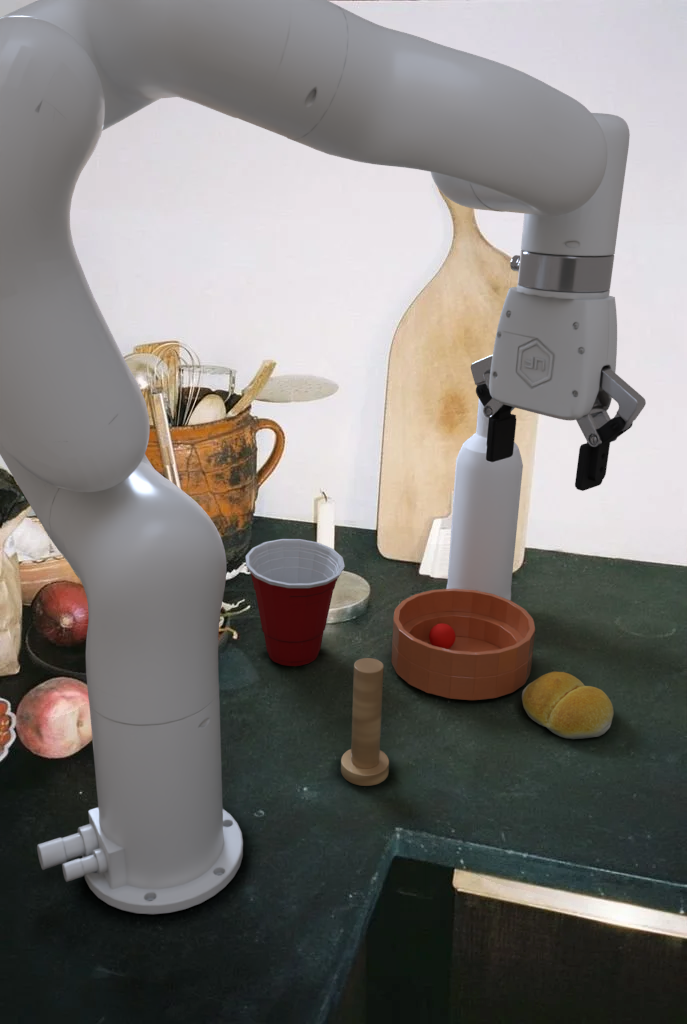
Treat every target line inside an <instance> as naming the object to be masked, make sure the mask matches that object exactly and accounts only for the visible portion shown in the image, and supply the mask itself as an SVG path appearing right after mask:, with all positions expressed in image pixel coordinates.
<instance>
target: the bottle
mask: <svg viewBox="0 0 687 1024" xmlns="http://www.w3.org/2000/svg"><path fill="white" fill-rule="evenodd" d="M483 409H484V406H483V404H482V403H481V401H480V399H479V398H478V402H477V413H476V414H477V415H476V426H475V427H476V428H475V433H473V434H472V435H470V437H468V438H467V439H466V440H465V441H464V442H463V443H462V445H461V447H460V449H459V451H458V454H457V456H456V459H455V471H454V483H453V496H452V497H453V498H452V500H453V502H452V513H451V514H452V515H451V526H450V527H451V528H450V540H449V543H450V544H449V556H448V569H447V583H446V587H445V589H467V590H477V591H481V592H486V593H491V594H495V595H497V596H500V597H503V598H505V599H508V600H511V601H512V581H513V574H514V573H513V571H514V562H515V551H516V541H517V530H518V520H519V509H520V501H521V500H520V499H521V491H522V490H521V489H522V480H523V469H524V463H523V459H522V455H521V452H520V447H519V446H518V445H517V443H516V442H515V441H514V449H513V455H512V456H511V457H509V458H505V459H502V460H498V461H495V462H490V461H487V460H486V452H487V434H488V423H489V418H487V417H486V416H485V415H484V413H483Z"/></svg>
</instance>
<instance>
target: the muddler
mask: <svg viewBox="0 0 687 1024" xmlns="http://www.w3.org/2000/svg"><path fill="white" fill-rule="evenodd" d="M352 685H353V686H352V710H351V711H352V714H351V746H350V749H348V750H346V751H345V752H343V754H342V756H341V758H340V773H341V775H342V777H343V779H345V780H346V781H347V782H348V783H351V784H352V785H356V786H359V787H360V786H361V787H372V786H376V785H379V784H381V783H383V782H384V781H385V780H386V779H388V777H389V774H390V773H389V772H390V759H389V757H388V755H387V754H386V753H385V752H384V751H383V750H381V735H382V734H381V731H382V709H383V687H384V663H383V662H382V661H380V660H379V659H377V658H374V657H373V658H372V657H364V658H363V657H362V658H360V659H357V660H356V661H355V662H354V663H353V684H352Z"/></svg>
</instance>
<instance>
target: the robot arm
mask: <svg viewBox="0 0 687 1024" xmlns="http://www.w3.org/2000/svg"><path fill="white" fill-rule="evenodd" d="M170 98H180V99H183V100H186V101H189V102H193V103H195V104H198V105H201V106H203V107H206V108H207V109H208V108H209V109H211V110H213V111H215V112H218V113H222V114H224V115H226V116H229V117H231V118H235V119H239V120H241V121H243V122H246V123H249V124H252V125H254V126H256V127H259V128H261V129H263V130H266V131H269V132H271V133H274V134H276V135H279V136H282V137H284V138H287V139H288V140H291V141H293V142H296V143H299V144H301V145H304V146H306V147H308V148H311V149H313V150H316V151H319V152H321V153H324V154H326V155H329V156H334V157H338V158H342V159H347V160H350V161H353V162H358V163H364V164H371V165H377V166H387V167H396V168H404V169H413V170H419V171H425V172H430V176H431V178H432V180H433V182H434V184H435V186H436V188H437V189H438V190H439V191H440V192H441V194H443V195H444V196H445V197H446V198H447V199H449V200H450V201H451V202H453V203H455V204H457V205H460V206H462V207H465V208H469V209H474V210H480V211H491V212H498V213H499V212H501V213H505V212H507V213H516V214H523V225H522V234H521V245H520V251H519V252H520V253H519V255H517V254H516V255H513V256H512V258H511V259H510V263H509V264H510V265H509V266H510V269H511V271H513V272H517V284H516V286H514V287H513V286H512V287H509V288H508V290H507V294H506V296H505V298H504V301H503V306H502V309H501V312H500V316H499V320H498V325H497V329H496V334H495V337H494V338H495V339H494V344H493V350H492V354H490V355H488V356H486V357H484V358H481V359H479V360H476V361H474V362H472V363H471V364H470V371H471V374H472V375H471V376H472V379H473V381H474V385H475V386H476V388H475V394H476V395H477V398H478V400H479V399H480V401H481V403H482V404H483V406H484V409H483V413H484V415H485V416H486V417H487V418H489V423H488V434H487V452H486V460H487V461H490V462H495V461H498V460H502V459H505V458H509V457H511V456H512V455H513V449H514V442H515V439H516V438H515V437H516V428H517V415H516V414H513V413H512V412H513V411H514V409H519V410H523V411H527V412H530V413H534V414H538V415H541V416H546V417H550V418H553V419H558V420H563V421H576V422H577V425H578V427H579V428H580V430H581V432H582V434H583V436H584V439H585V440H586V443H583V444H581V445H580V446H579V450H578V458H577V466H576V475H575V480H574V487H575V488H576V490H578V491H581V492H585V491H587V490H590V489H592V488H596V487H599V486H601V484H603V480H604V479H605V477H606V474H607V468H608V461H609V454H610V446H611V443H612V442H615V441H617V439H618V438H619V437H620V436H621V435H623V434H624V433H625V432H627V431H628V430H630V429H631V428H632V427H633V423H634V422H635V421H636V419H637V417H638V416H639V415H640V413H641V412H642V411H643V410H644V408H645V407H646V404H647V403H646V399H645V398H644V396H642V395H641V394H640V393H639V392H638V391H636V390H635V388H633V387H632V386H631V385H630V384H628V383H627V382H626V381H625V380H624V379H623V378H622V377H621V376H619V375H618V374H617V373H616V372H617V371H616V370H617V357H618V355H617V354H618V317H617V316H618V315H617V305H616V297H615V296H612V295H610V293H611V292H610V291H611V284H612V276H613V268H614V262H615V261H614V260H615V254H616V247H617V246H616V245H617V237H618V230H619V222H620V214H621V208H622V207H621V205H622V200H623V199H622V198H623V193H624V184H625V176H626V169H627V162H628V154H629V147H630V137H631V136H630V135H631V133H630V129H629V125H628V123H627V122H626V120H625V119H624V118H622V117H621V116H619V115H615V114H610V113H603V112H591V111H590V110H589V109H588V108H587V107H586V106H585V105H584V104H582V102H580V101H579V100H577V99H575V98H574V97H572V96H569V95H568V94H566V93H565V92H563V91H561V90H559V89H557V88H555V87H553V86H551V85H550V84H548V83H546V82H544V81H542V80H541V79H538V78H536V77H534V76H532V75H530V74H527V73H526V72H524V71H522V70H519V69H517V68H514V67H512V66H509V65H507V64H504V63H501V62H498V61H495V60H491V59H489V58H486V57H483V56H480V55H476V54H474V53H470V52H467V51H463V50H459V49H456V48H453V47H451V46H446V45H444V44H440V43H437V42H434V41H431V40H430V39H429V40H428V39H426V38H423V37H420V36H418V35H414V34H410V33H407V32H404V31H399V30H396V29H393V28H389V27H386V26H383V25H379V24H378V23H375V22H372V21H370V20H369V19H366V18H363V16H362V17H361V16H359V15H357V14H356V13H354V12H352V11H350V10H348V9H346V8H344V7H341V6H340V5H338V4H335V3H334V2H333V1H332V2H331V1H329V0H35V1H33V2H31V3H29V4H27V5H24V6H22V7H20V8H18V9H16V10H13V11H12V12H9V13H7V14H5V15H2V16H0V457H1V458H2V460H3V462H4V464H5V465H6V467H7V468H8V471H9V472H10V474H11V476H12V477H13V479H14V481H15V482H16V484H17V486H18V487H19V490H20V491H21V492H22V494H23V497H25V499H26V501H27V503H28V504H29V506H30V508H31V509H32V511H33V512H34V514H35V516H36V517H37V519H38V521H39V522H40V524H41V526H42V527H43V529H44V531H45V532H46V534H47V536H48V537H49V539H50V540H51V542H52V543H53V545H54V547H55V548H56V549H57V550H58V551H59V553H60V554H61V556H62V557H63V558H64V559H65V561H66V562H67V563H68V565H69V566H70V568H71V570H72V572H73V573H74V574H75V575H76V576H77V578H78V580H79V581H80V583H81V585H82V588H83V590H84V593H85V597H86V602H87V613H88V615H87V617H88V618H87V620H88V621H87V630H86V631H87V632H86V639H85V640H86V641H85V674H86V687H87V688H86V689H87V698H88V706H89V715H90V718H89V719H90V726H91V738H92V739H91V740H92V741H91V742H92V751H93V762H94V763H93V764H94V774H95V785H96V797H97V807H94V808H90V809H89V810H88V811H87V812H88V813H87V814H88V821H89V823H87V824H85V825H82V826H79V827H77V832H76V833H72V834H69V835H67V836H64V837H62V836H61V837H57V838H54V839H49V840H47V841H45V842H44V841H43V842H41V843H38V844H36V850H37V851H36V852H37V856H38V861H39V864H40V867H41V870H42V871H45V870H48V869H51V868H54V867H56V866H60V865H61V868H62V869H61V870H62V874H63V878H64V881H65V883H68V882H71V881H74V880H78V879H81V878H84V880H85V882H86V884H87V886H88V888H89V890H90V891H91V892H92V893H93V895H95V896H96V897H97V899H99V900H101V901H103V902H104V903H105V904H107V905H108V906H111V907H113V908H116V909H118V910H121V911H124V912H128V913H133V914H140V915H141V914H142V915H160V914H161V915H162V914H170V913H176V912H179V911H183V910H186V909H189V908H192V907H195V906H197V905H200V904H202V903H204V902H205V901H207V900H209V899H211V898H213V897H214V896H216V895H217V894H219V893H220V892H221V891H222V890H224V889H225V888H226V887H227V885H229V883H230V882H231V881H232V880H233V879H234V878H235V876H236V874H237V873H238V871H239V869H240V867H241V864H242V862H243V861H242V860H243V857H244V839H243V832H242V830H241V828H240V826H239V823H238V822H237V820H236V819H235V818H234V817H233V815H231V813H230V812H228V811H227V810H225V808H224V805H223V804H224V803H223V775H222V774H223V773H222V769H223V768H222V739H221V738H222V735H221V706H220V704H221V703H220V701H221V700H220V682H219V679H220V678H219V634H220V633H219V631H220V620H221V611H222V605H223V600H224V594H225V587H226V582H227V581H226V580H227V556H226V555H227V554H226V550H225V545H224V542H223V539H222V537H221V534H220V531H219V530H218V528H217V526H216V525H215V522H214V521H213V520H212V519H211V517H210V516H209V514H208V513H207V512H206V511H205V509H204V508H203V507H202V506H201V505H200V504H199V503H198V502H197V501H196V500H195V499H194V498H193V497H191V496H190V495H189V494H188V493H186V491H184V490H183V489H181V488H180V487H179V486H178V485H176V484H175V483H174V482H173V481H171V480H170V479H168V478H166V477H165V476H163V475H162V474H161V473H160V472H159V471H157V469H156V468H154V466H153V465H152V463H151V461H150V460H149V458H148V457H147V455H146V452H147V448H148V445H149V439H150V432H151V431H150V430H151V429H150V427H151V426H150V425H151V424H150V416H149V415H150V414H149V411H148V407H147V402H146V399H145V397H144V393H143V392H142V389H141V387H140V385H139V383H138V381H137V379H136V378H135V375H134V374H133V372H132V371H131V370H132V369H131V368H130V366H129V365H128V362H127V361H126V359H125V357H124V355H123V354H122V352H121V350H120V348H119V345H118V344H117V342H116V339H115V337H114V336H113V333H112V331H111V329H110V327H109V324H108V323H107V321H106V319H105V317H104V315H103V313H102V310H101V309H100V307H99V305H98V302H97V301H96V298H95V297H94V294H93V292H92V289H91V287H90V284H89V283H88V282H89V281H88V279H87V277H86V275H85V272H84V269H83V267H82V265H81V263H80V262H81V261H80V260H79V257H78V254H77V251H76V248H75V245H74V242H73V236H72V230H71V207H72V200H73V196H74V192H75V189H76V185H77V184H78V183H77V182H78V181H79V178H80V176H81V173H82V171H83V170H84V168H85V166H86V165H87V163H88V162H89V160H90V158H91V157H92V156H93V154H94V152H95V150H96V148H97V146H98V144H99V141H100V139H101V136H102V132H103V131H105V130H107V129H109V128H110V127H113V126H114V125H117V124H118V123H120V122H121V121H123V120H125V119H127V118H129V117H130V116H132V115H134V114H135V113H138V112H139V111H141V110H142V109H144V108H146V107H148V106H150V105H152V104H153V103H155V102H157V101H159V100H161V99H170ZM612 399H613V400H614V401H615V402H616V403H617V404H618V410H617V411H616V414H615V415H614V416H613V418H611V417H610V415H609V413H608V410H609V409H610V406H611V404H612ZM79 857H81V858H79Z"/></svg>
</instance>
